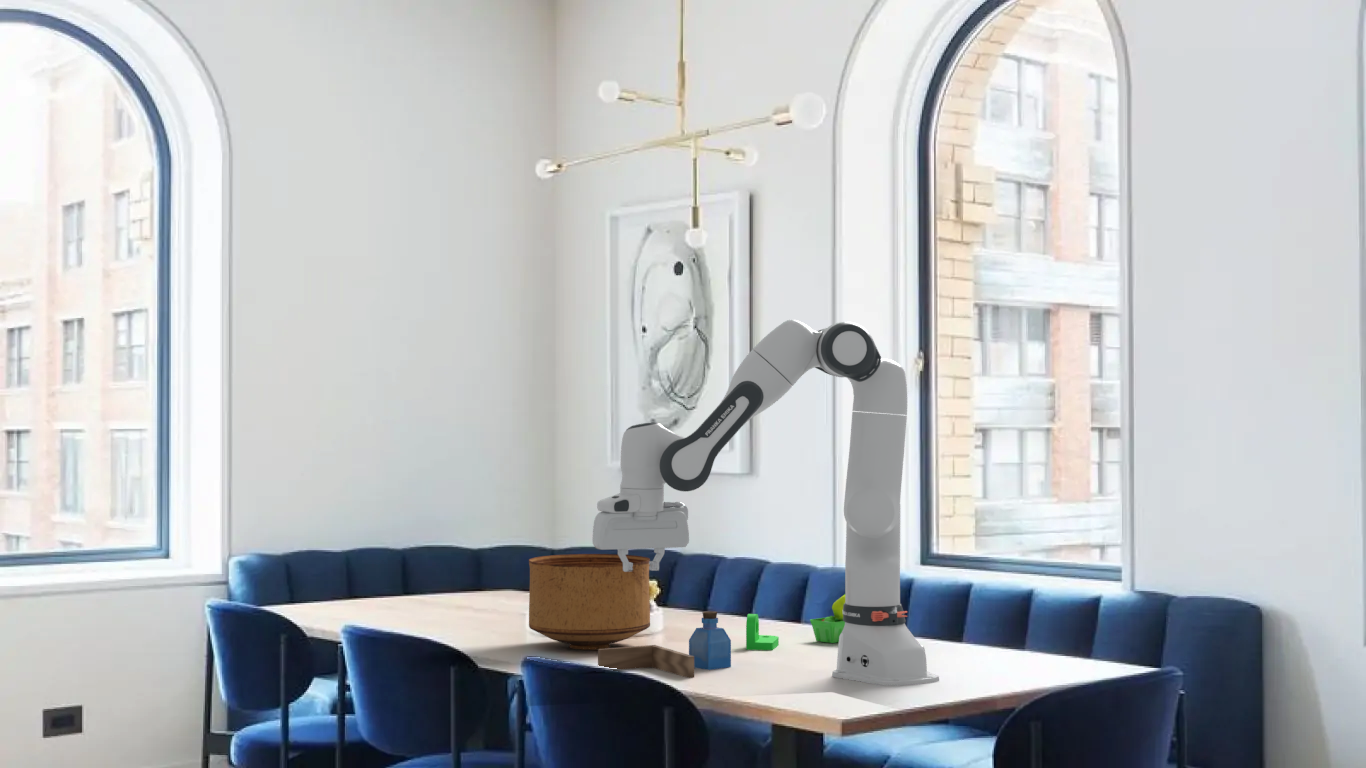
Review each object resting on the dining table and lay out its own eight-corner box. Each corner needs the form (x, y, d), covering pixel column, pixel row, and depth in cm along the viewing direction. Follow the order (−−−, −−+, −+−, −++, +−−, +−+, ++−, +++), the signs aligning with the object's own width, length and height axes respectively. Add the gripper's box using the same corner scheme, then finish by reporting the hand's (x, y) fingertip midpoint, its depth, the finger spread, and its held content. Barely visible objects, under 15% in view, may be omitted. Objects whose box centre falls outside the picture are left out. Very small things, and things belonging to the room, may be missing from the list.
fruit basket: (839, 636, 399) (839, 589, 399) (868, 640, 392) (868, 592, 392) (808, 641, 391) (808, 592, 391) (837, 645, 384) (837, 596, 384)
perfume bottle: (730, 670, 349) (730, 612, 349) (708, 673, 345) (708, 614, 345) (711, 666, 353) (711, 609, 353) (689, 669, 349) (688, 612, 349)
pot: (518, 641, 391) (518, 555, 391) (633, 636, 398) (633, 552, 399) (541, 658, 364) (541, 566, 365) (664, 653, 372) (664, 563, 372)
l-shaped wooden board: (694, 681, 334) (694, 656, 334) (635, 686, 328) (635, 660, 328) (654, 668, 350) (654, 644, 350) (598, 673, 344) (597, 649, 344)
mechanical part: (772, 651, 375) (772, 616, 375) (746, 651, 377) (746, 615, 377) (780, 644, 387) (780, 609, 387) (754, 643, 388) (754, 609, 388)
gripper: (681, 500, 346) (680, 567, 345) (589, 502, 337) (588, 571, 337) (694, 502, 340) (694, 570, 340) (602, 504, 331) (601, 574, 331)
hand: (640, 570), depth 338 cm, fingers open, 4 cm apart
